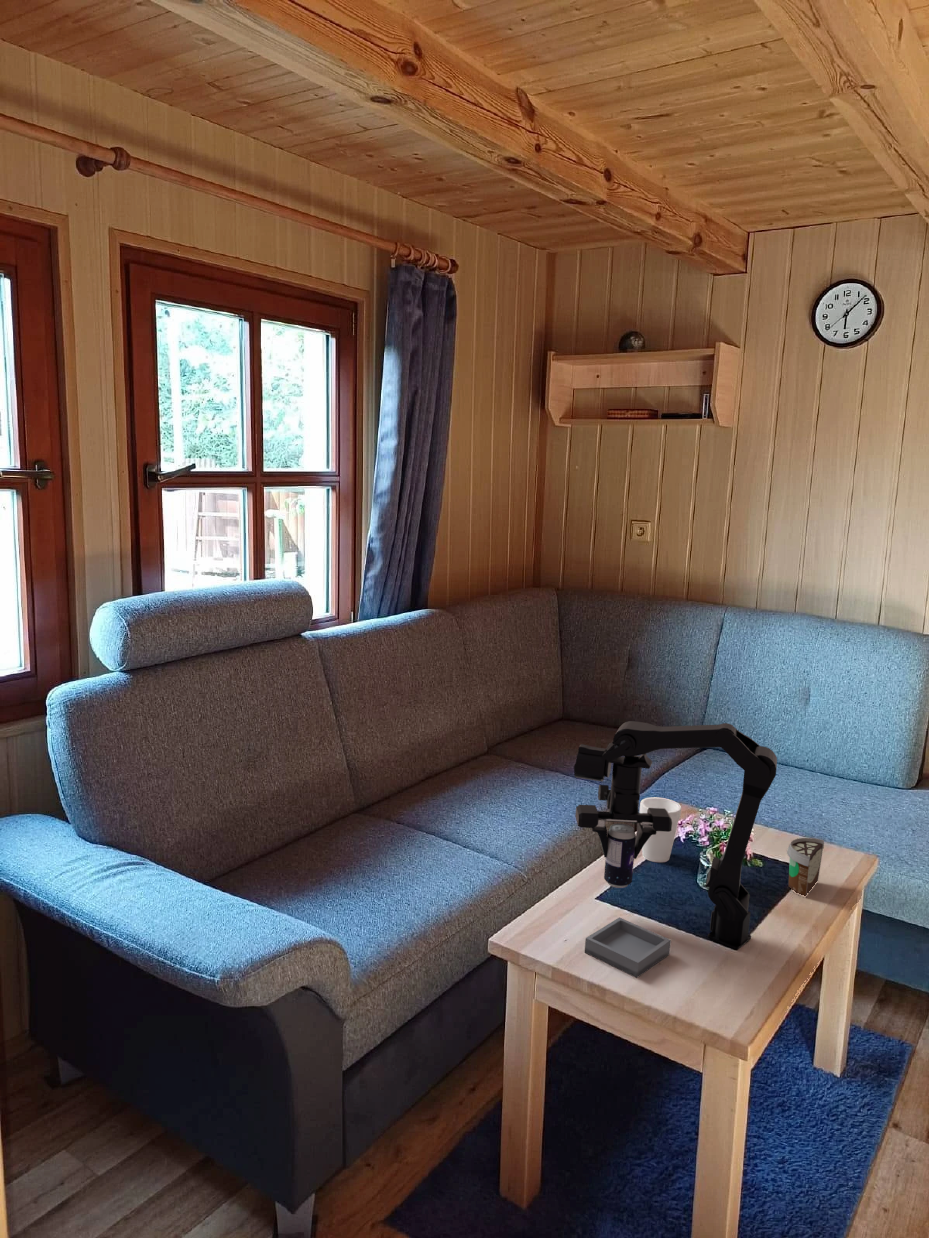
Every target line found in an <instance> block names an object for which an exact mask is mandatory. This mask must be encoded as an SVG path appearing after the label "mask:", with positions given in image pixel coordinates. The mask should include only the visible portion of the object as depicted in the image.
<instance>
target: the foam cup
mask: <svg viewBox="0 0 929 1238" xmlns="http://www.w3.org/2000/svg"><path fill="white" fill-rule="evenodd" d="M648 808H662V809H666V810H667V812H668V813H669V815H670V817H671V819H672V828H671V831H669V832H665V831H656V835H651V836H650V838H649V839H648V840H647V842H646V843H645V844H644V846H643V848H642V849H641V853H642V857H643V858H644V859H645V860H647V861H650V862H653V863H666V862H668V861H669V860H670V857H671V854H672V850H673V845H674V843H675V842H674V841H675V838H676V832H677V828H678V824H679V820H680V819H681V815H682V806H681V805H680V803H679V802H677V801H675V800H673V799H668V798H665V797H658V796H657V797H654V796H653V797H646V798H643V799H642V800H641V801H639V813H647V810H648Z"/></svg>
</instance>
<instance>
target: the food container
mask: <svg viewBox="0 0 929 1238" xmlns="http://www.w3.org/2000/svg"><path fill="white" fill-rule="evenodd" d="M824 842H825V840H824V839H820V838H814V837H799V838H795V839H793V840H791V842H790V843H789V844H788V848H787V850H786V854H787V856H788V857H789V862H788V863H789V867H788V868H789V869H788V888H789V887H790V888H791V889H792V890H794V891H795V892H796V893H799V894H801V895H804V896H806V895H807V893H809V891H810V890H811V889H812V887H813V886H814V885H815V883H816V882H817V881H818V882H819V879H820V878H819V877H820V870H821V862H822V859H823V851H824V850H823V849H824V848H825V843H824ZM809 894H810V893H809Z"/></svg>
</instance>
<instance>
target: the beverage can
mask: <svg viewBox="0 0 929 1238" xmlns="http://www.w3.org/2000/svg"><path fill="white" fill-rule="evenodd" d="M635 840H636V833H635V828H634V827H633V826H631V825H630V824H626V823H613V824H611V825H610V827H609V829H608V830H607V857H605V863H604V873H603V879H604V880H605V882H606V883H607V885H609V886H610V887H613V888H617V889H622V888H623V889H624V888H627V887H628V885H631V884H632V882H633V873H634V864H635V863H634V861H635V859H634V852H635Z"/></svg>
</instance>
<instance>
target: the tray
mask: <svg viewBox="0 0 929 1238" xmlns="http://www.w3.org/2000/svg"><path fill="white" fill-rule="evenodd" d="M671 941H672V940H671V939H669V938H667V937H666V936H663V935H660V934H658V933H657V932H654V931H652V930H649V929H647V928H645V927H642V926H640V925H638V924H636V923H634V922H631V921H629V920H627V919H624V918H622V917H617V918H616V919H614V920H613V921H611V922H609V923H607V924H606V925H604V926H603V927H602V928H600V929H598V930H596V931H595V932H593V933H592V934H590V935H588V936H587V937H585V941H584V942H585V943H584V953H585V954H587V955H588V956H591V955H592V956H591V957H593V958H595V959H597V960H599V961H601V962H603V963H605V964H608V965H609V966H612V967H614V968H616V969H618V970H619V971H622V972H624V973H625V974H628V975H630V976H632V977H634V978H635V979H636V978H639V977H640V976H641V975H642V974H644V973H645V972H647V971H648V970H650V969H651V968H652V967H654V966H655V965H657V964H658V963H659V962H661V961H662V960H664V959H665V958H667V957H668V956H670V952H671V943H672V942H671Z"/></svg>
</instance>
